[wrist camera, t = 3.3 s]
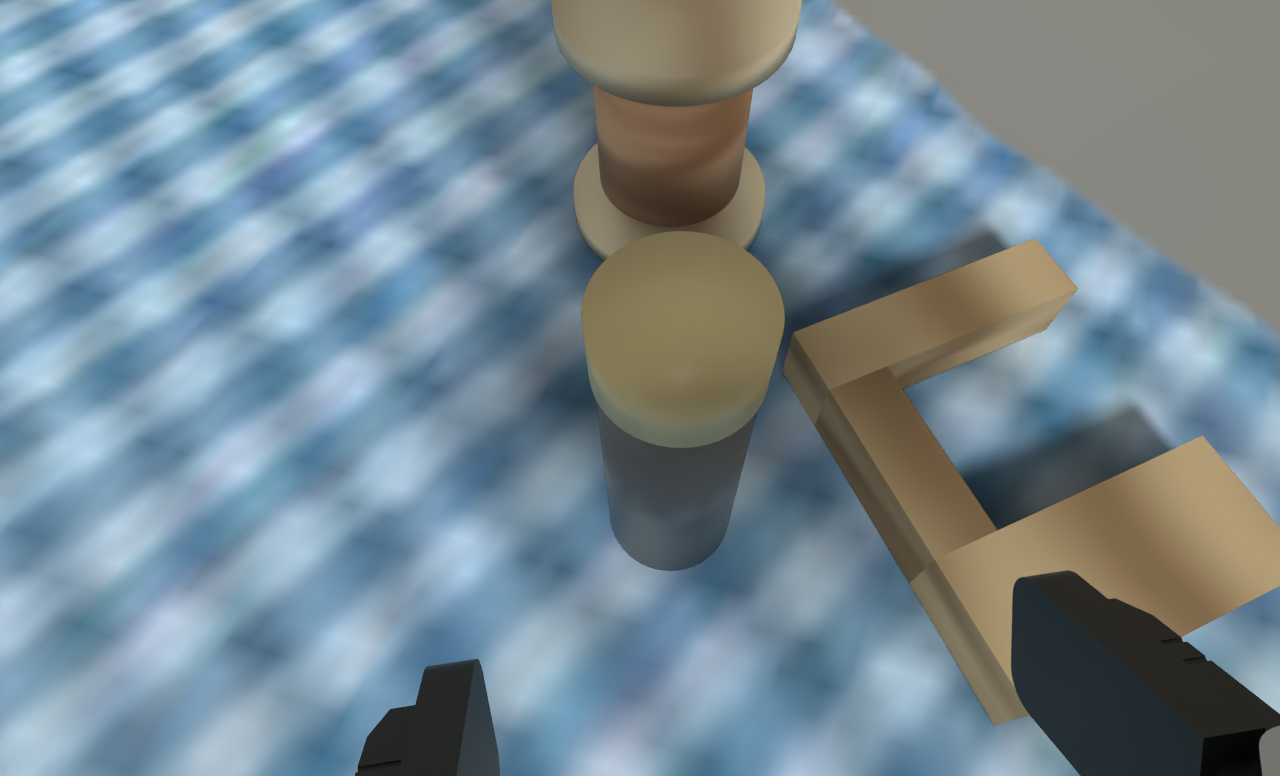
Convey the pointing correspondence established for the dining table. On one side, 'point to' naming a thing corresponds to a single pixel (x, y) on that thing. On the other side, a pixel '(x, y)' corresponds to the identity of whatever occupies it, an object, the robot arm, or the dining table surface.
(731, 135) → the bobbin
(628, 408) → the grey cylinder tan cap
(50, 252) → the dining table surface
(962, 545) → the tan c-shaped clamp
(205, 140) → the dining table surface
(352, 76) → the dining table surface
